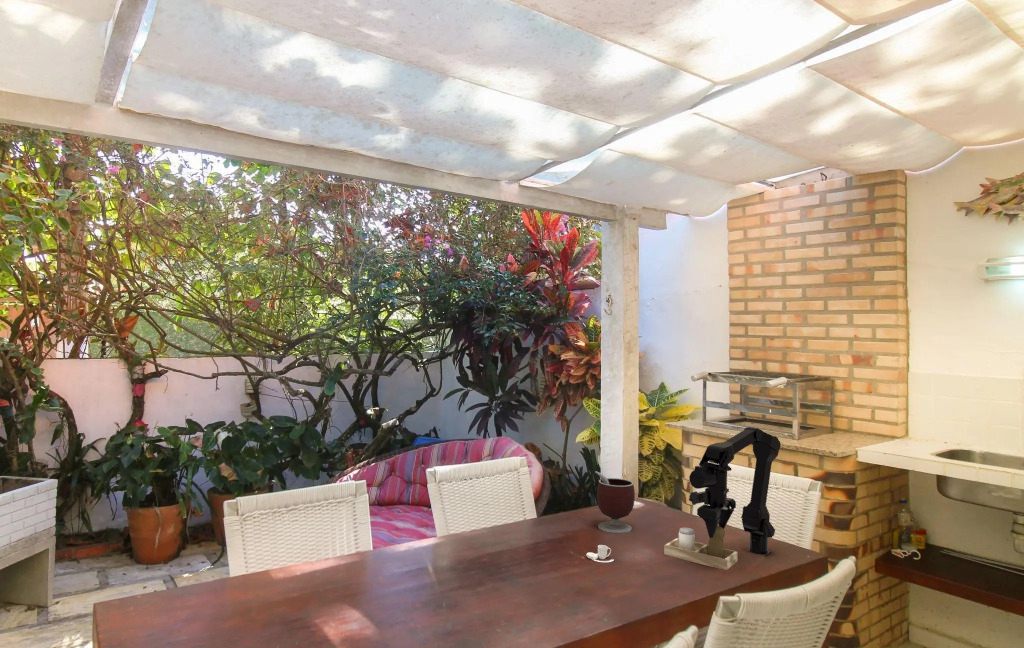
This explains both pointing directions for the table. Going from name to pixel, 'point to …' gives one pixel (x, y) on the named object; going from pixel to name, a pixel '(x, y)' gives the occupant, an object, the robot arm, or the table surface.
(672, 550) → the caddy
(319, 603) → the table surface
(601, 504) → the mate gourd
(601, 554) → the teacup and saucer
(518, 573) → the table surface
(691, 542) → the salt shaker
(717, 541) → the olive tapered block
